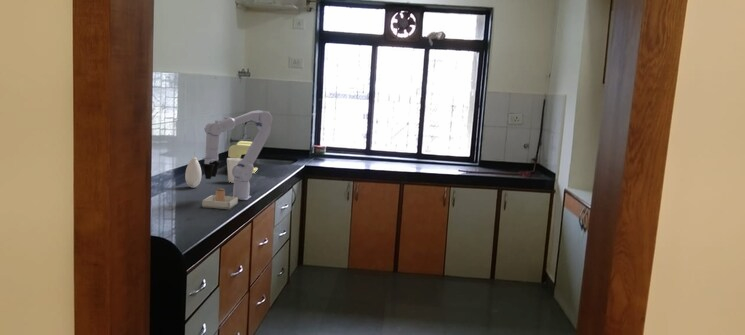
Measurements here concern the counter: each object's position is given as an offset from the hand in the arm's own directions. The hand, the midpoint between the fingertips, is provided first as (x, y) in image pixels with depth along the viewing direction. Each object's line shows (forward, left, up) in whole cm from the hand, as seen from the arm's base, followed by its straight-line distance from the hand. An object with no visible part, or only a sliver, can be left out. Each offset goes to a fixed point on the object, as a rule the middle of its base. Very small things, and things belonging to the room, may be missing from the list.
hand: (210, 177), depth 265 cm
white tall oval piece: (-27, -17, -11) cm, 34 cm away
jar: (+10, +8, -10) cm, 16 cm away
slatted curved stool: (-101, -9, -11) cm, 102 cm away
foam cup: (-55, -3, -11) cm, 56 cm away
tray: (+10, +8, -10) cm, 16 cm away
